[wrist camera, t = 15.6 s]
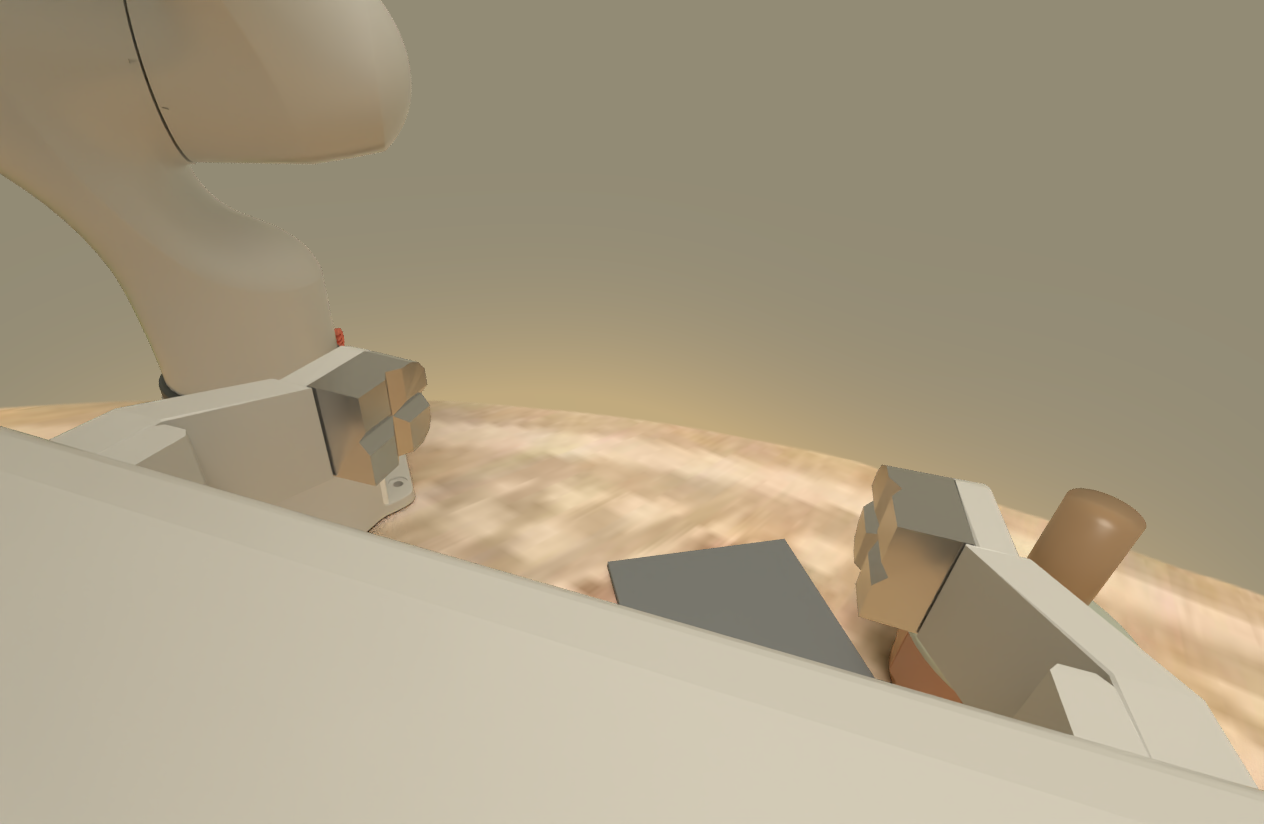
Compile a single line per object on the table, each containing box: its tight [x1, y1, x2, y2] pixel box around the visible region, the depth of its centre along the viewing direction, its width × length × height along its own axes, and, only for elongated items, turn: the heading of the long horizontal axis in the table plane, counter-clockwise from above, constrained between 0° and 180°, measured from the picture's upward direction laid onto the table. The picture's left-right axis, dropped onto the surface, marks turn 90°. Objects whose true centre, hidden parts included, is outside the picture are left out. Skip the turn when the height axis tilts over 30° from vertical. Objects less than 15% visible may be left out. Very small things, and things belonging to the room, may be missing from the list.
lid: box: [908, 488, 1146, 689], centre depth 34 cm, size 14×14×11 cm
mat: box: [608, 539, 874, 678], centre depth 42 cm, size 16×16×1 cm
